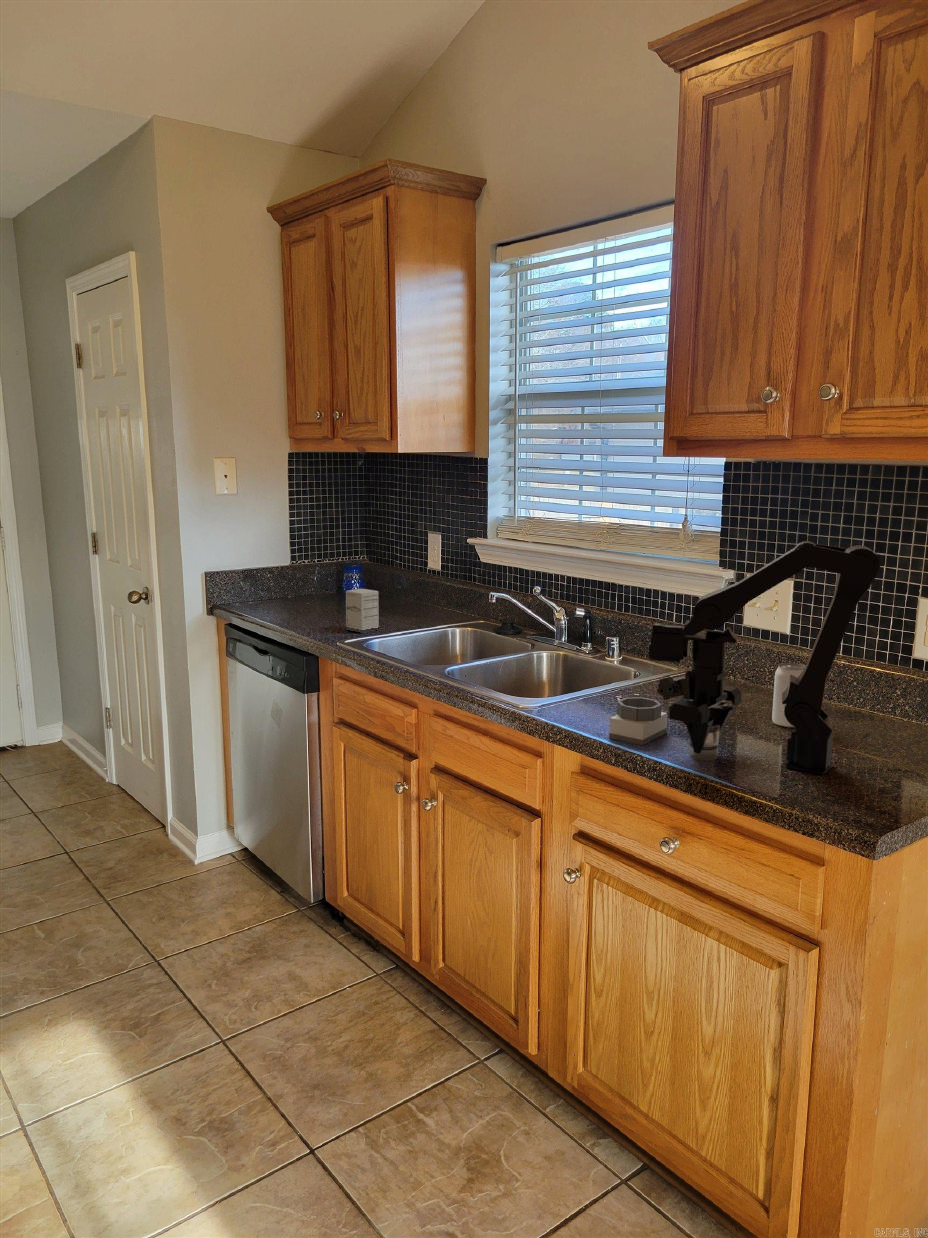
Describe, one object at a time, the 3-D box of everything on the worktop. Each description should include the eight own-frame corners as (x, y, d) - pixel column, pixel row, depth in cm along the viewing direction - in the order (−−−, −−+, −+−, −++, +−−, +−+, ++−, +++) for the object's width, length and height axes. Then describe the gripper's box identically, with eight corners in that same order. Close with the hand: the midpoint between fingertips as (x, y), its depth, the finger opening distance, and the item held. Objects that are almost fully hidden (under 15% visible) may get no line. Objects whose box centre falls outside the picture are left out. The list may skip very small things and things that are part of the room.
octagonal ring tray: (668, 733, 178) (669, 700, 177) (643, 745, 171) (645, 712, 169) (632, 725, 183) (633, 694, 182) (607, 737, 175) (608, 704, 174)
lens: (722, 755, 165) (724, 723, 164) (711, 762, 161) (712, 729, 160) (695, 749, 169) (697, 718, 168) (683, 756, 165) (685, 724, 164)
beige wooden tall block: (345, 631, 279) (344, 590, 277) (363, 627, 285) (362, 587, 283) (361, 634, 275) (361, 593, 272) (379, 631, 280) (379, 590, 278)
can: (778, 717, 190) (782, 660, 187) (810, 723, 186) (814, 665, 183) (766, 724, 185) (770, 666, 183) (798, 730, 181) (803, 671, 178)
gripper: (688, 650, 174) (684, 729, 177) (642, 667, 160) (639, 753, 163) (745, 658, 167) (740, 740, 170) (702, 677, 153) (697, 766, 156)
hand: (703, 749), depth 165 cm, fingers closed on lens, 5 cm apart
